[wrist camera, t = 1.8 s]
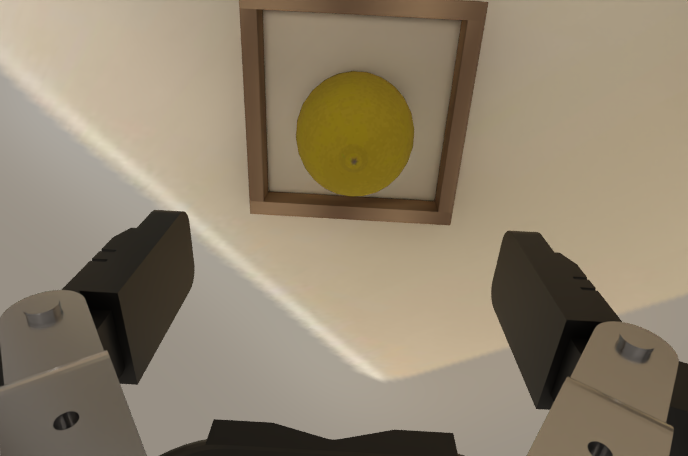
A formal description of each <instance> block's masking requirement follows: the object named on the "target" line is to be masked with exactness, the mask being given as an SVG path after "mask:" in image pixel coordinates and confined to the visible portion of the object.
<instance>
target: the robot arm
mask: <svg viewBox="0 0 688 456" xmlns="http://www.w3.org/2000/svg"><path fill="white" fill-rule="evenodd" d="M193 279H194V258H193V251H192V241H191V233H190V224H189V218H188V215H187V214H186V212H181V211H164V210H154V211H152V212H151V213H150V214H149V215H148V217H147V218H146V219H145V220H144V221H143V222H142V223H141V224H140V225H139V226H138V227H137V228H130V229H128V230H126V231H124V232H122V233H120V234H119V235H117V236H115V237H113V238H112V239H111V240H110V241H109V242H108V243H107V244H106V245H105V246H104V247H103V248H102V251H100V252H98V253H97V255H95V256H94V257H93V258H92V261H90V262H88V263H87V265H86V266H85V267H84V268H83V269H82V270H81V271H80V272H79V273H78V274H77V275H76V276H75V277H74V278H73V279H72V280H71V281H70V282H69V283H68V284H67V285H66V286H65V287H64V288H63V289H62V290H53V291H46V292H42V293H38V294H35V295H31V296H29V297H26V298H24V299H22V300H20V301H18V302H16V303H15V304H13V305H12V306H11V307H9V308H8V309H7V310H6V311H5V312H4V313H3V314H2V316H1V317H0V456H147V455H146V452H145V450H144V447H143V444H142V441H141V439H140V436H139V434H138V431H137V428H136V425H135V423H134V420H133V417H132V415H131V412H130V409H129V407H128V404H127V401H126V399H125V396H124V394H123V391H122V388H121V385H120V384H136V385H137V384H138V383H139V381H140V379H141V377H142V376H143V373H144V372H145V370H146V368H147V367H148V365H149V363H150V361H151V359H152V358H153V356H154V354H155V352H156V350H157V349H158V347H159V345H160V343H161V341H162V340H163V338H164V336H165V334H166V332H167V331H168V329H169V327H170V325H171V323H172V322H173V320H174V318H175V316H176V314H177V313H178V311H179V309H180V307H181V306H182V304H183V302H184V300H185V298H186V296H187V294H188V293H189V291H190V289H191V287H192V283H193ZM491 297H492V304H493V308H494V310H495V312H496V315H497V317H498V320H499V322H500V324H501V327H502V329H503V331H504V334H505V336H506V339H507V341H508V343H509V346H510V348H511V350H512V353H513V355H514V357H515V360H516V362H517V364H518V367H519V369H520V371H521V374H522V376H523V378H524V381H525V384H526V386H527V388H528V391H529V393H530V395H531V398H532V400H533V402H534V405H535V407H536V409H548V410H550V411H549V413H548V415H547V417H546V419H545V421H544V423H543V425H542V427H541V429H540V430H539V432H538V434H537V436H536V438H535V440H534V442H533V444H532V446H531V448H530V450H529V452H528V454H527V456H688V364H687V363H683V362H680V361H679V359H678V356H677V354H676V352H675V350H674V349H673V348H672V347H671V346H670V345H669V344H668V343H667V342H666V341H664V340H663V339H662V338H661V337H659V336H657V335H656V334H654V333H652V332H650V331H649V330H646V329H644V328H642V327H639V326H636V325H633V324H629V323H624V322H622V321H621V320H620V319H619V317H618V316H617V315H616V313H615V312H614V311H613V310H612V308H611V307H610V306H609V305H608V303H607V302H606V301H605V300H604V298H603V297H602V296H601V294H600V293H599V292H598V291H595V287H594V286H593V284H592V283H591V282H590V281H589V280H587V277H586V275H585V274H584V273H583V272H582V270H581V269H580V268H579V267H578V265H577V264H575V263H574V262H572V261H571V260H570V259H568V258H567V257H565V256H564V255H562V254H561V253H554V251H553V250H552V249H551V247H550V246H549V245H548V243H547V242H546V241H545V239H544V238H543V237H542V235H541V234H540V233H538V232H522V231H507V232H506V233H505V235H504V237H503V240H502V244H501V248H500V252H499V257H498V261H497V265H496V269H495V273H494V278H493V282H492V289H491ZM160 456H464V455H460V454H457V449H456V444H455V440H454V435H453V433H442V432H424V431H423V432H422V431H407V430H390V431H384V432H379V433H373V434H367V435H361V436H356V437H350V438H344V439H337V440H331V439H326V438H322V437H319V436H316V435H312V434H309V433H306V432H302V431H299V430H295V429H292V428H288V427H285V426H282V425H278V424H275V423H267V422H250V421H233V420H231V421H230V420H215V419H214V421H213V423H212V426H211V430H210V433H209V435H208V438H207V439H206V440H201V441H197V442H193V443H189V444H186V445H183V446H180V447H178V448H175V449H173V450H170V451H168V452H166V453H164V454H162V455H160Z"/></svg>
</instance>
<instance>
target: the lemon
mask: <svg viewBox="0 0 688 456" xmlns="http://www.w3.org/2000/svg"><path fill="white" fill-rule="evenodd" d="M413 138H414V126H413V120H412V115H411V111H410V109H409V107H408V105H407V103H406V101H405V99H404V97H403V96H402V95H401V94H400V93H399V91H398V90H397V89H396V88H395V87H394V86H393V85H392V84H390V83H389V82H387V81H386V80H385V79H383V78H382V77H379V76H376V75H373V74H371V73H368V72H356V71H351V72H346V73H340V74H337V75H335V76H333V77H330V78H328V79H326V80H324V81H323V82H322V83H321V84H320V85H318V86H317V87H316V88H315V89H314V90H313V91H312V92H311V93H310V95H309V96H308V98H307V99H306V101H305V102H304V103H303V106H302V108H301V111H300V114H299V117H298V120H297V131H296V140H297V146H298V152H299V155H300V157H301V160H302V162H303V164H304V166H305V168H306V170H307V171H308V172H309V174H310V175H311V176H312V177H313V179H314V180H315V181H316V182H318V183H319V184H320V185H322V186H323V187H324V188H325V189H328V190H330V191H332V192H334V193H336V194H340V195H345V196H365V195H368V194H372V193H376V192H378V191H380V190H381V189H383V188H385V187H387V186H388V185H389V184H390V183H391V182H393V181H394V180H395V179H396V178H397V177H398V176H399V175H400V173H401V172H402V170H403V169H404V167H405V166H406V164H407V162H408V159H409V156H410V153H411V151H412V148H413Z"/></svg>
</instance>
